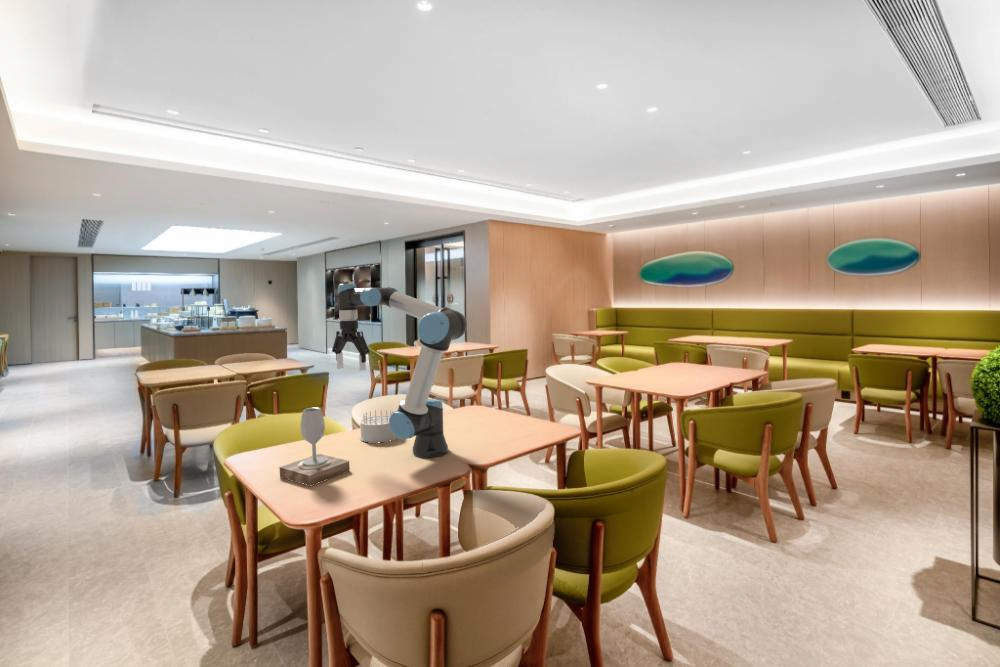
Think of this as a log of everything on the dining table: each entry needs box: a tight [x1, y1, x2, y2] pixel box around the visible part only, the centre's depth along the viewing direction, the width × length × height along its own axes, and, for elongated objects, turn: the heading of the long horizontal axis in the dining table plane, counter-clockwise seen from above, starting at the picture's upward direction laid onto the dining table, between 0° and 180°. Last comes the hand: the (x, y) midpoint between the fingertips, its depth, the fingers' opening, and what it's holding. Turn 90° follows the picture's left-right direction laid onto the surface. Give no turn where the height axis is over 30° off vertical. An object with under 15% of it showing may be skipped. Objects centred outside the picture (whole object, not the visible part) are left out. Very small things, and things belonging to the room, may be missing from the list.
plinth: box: [279, 453, 351, 486], centre depth 194 cm, size 18×18×4 cm
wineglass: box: [300, 407, 327, 466], centre depth 193 cm, size 9×9×21 cm
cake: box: [359, 409, 398, 444], centre depth 241 cm, size 18×18×13 cm
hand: (351, 369), depth 217 cm, fingers open, 13 cm apart
